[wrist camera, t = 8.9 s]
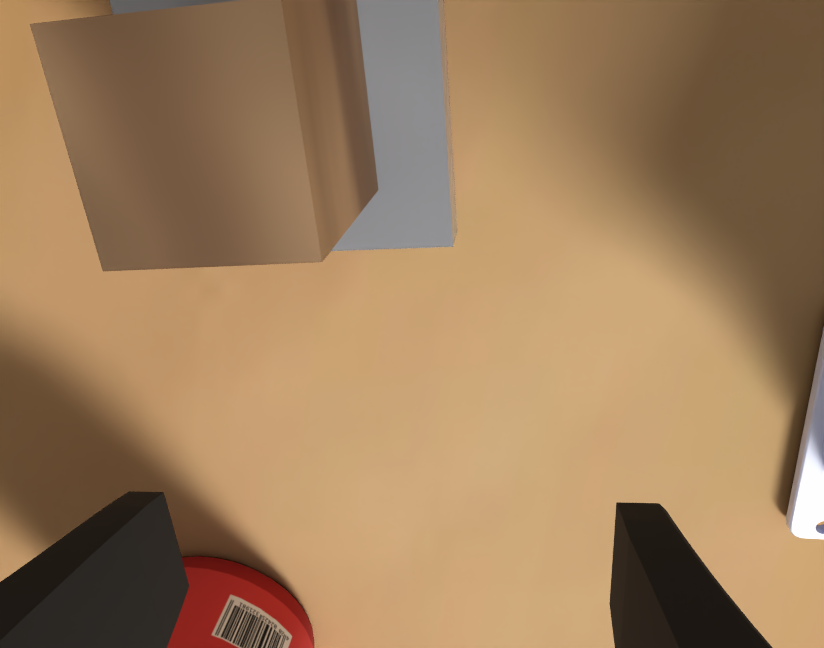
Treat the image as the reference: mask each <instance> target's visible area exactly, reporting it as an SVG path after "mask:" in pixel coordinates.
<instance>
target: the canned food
mask: <svg viewBox="0 0 824 648" xmlns="http://www.w3.org/2000/svg"><path fill="white" fill-rule="evenodd" d="M182 561H183V564H184V568H185V572H186V575H187V579H188V582H189V589H188V591H187V594H186V597H185V600H184V603H183V606H182V609H181V612H180V614H179V617H178V620H177V623H176V625H175V628H174V630H173V633H172V636H171V638H170V641H169V643H168V646H167V648H314V637H313V630H312V627H311V624H310V622H309V619H308V617H307V615H306V613H305V612H304V610H303V609H302V607H301V606H300V604H299V603H298V602H297V601H296V600H295V599H294V598H293V597H292V595H291V594H290V593H289V592H288V591H287V590H286V589H284V588H283V587H282V586H280V585H279V584H278V583H276V582H275V581H274V580H272V579H271V578H269V577H267V576H265V575H263V574H262V573H260V572H258V571H256V570H254V569H252V568H249V567H247V566H244V565H241V564H239V563H236V562H232V561H228V560H224V559H219V558H212V557H201V556H196V557H182Z"/></svg>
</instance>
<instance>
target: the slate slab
mask: <svg viewBox="0 0 824 648" xmlns="http://www.w3.org/2000/svg"><path fill="white" fill-rule="evenodd" d="M229 1H238V0H110V4H111V8H112V13H113V15H114V14H123V13H132V12H141V11H149V10H158V9H167V8H176V7H185V6H194V5H203V4H212V3H221V2H229ZM356 1H357V9H358V18H359V26H360V35H361V44H362V52H363V61H364V70H365V78H366V87H367V95H368V104H369V113H370V121H371V130H372V139H373V147H374V156H375V164H376V173H377V182H378V191H377V193H376V194H375V195H374V196H373V198H372V199H371V200H370V201H369V203H368V204H367V205H366V207H365V208H364V209H363V210H362V212H361V213H360V214H359V216H358V217H357V218H356V219H355V221H354V222H353V223H352V224H351V226H350V227H349V228H348V230H347V231H346V232H345V233H344V235H343V236H342V237H341V239H340V240H339V241H338V242H337V244H336V245H335V246H334V248H333V249H332V250H331V251H345V250H373V249H401V248H429V247H453V245H454V242H455V238H456V234H457V216H456V198H455V181H454V164H453V147H452V130H451V113H450V96H449V79H448V62H447V45H446V27H445V10H444V0H356Z"/></svg>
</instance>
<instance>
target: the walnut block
mask: <svg viewBox="0 0 824 648" xmlns="http://www.w3.org/2000/svg"><path fill="white" fill-rule="evenodd" d="M30 26H31V30H32V33H33V36H34V40H35V43H36V47H37V50H38V53H39V57H40V60H41V64H42V67H43V70H44V74H45V77H46V80H47V84H48V87H49V91H50V94H51V97H52V101H53V104H54V107H55V111H56V114H57V118H58V121H59V124H60V128H61V131H62V134H63V138H64V141H65V145H66V148H67V151H68V155H69V158H70V162H71V165H72V168H73V172H74V175H75V178H76V182H77V185H78V189H79V192H80V195H81V199H82V202H83V205H84V209H85V212H86V216H87V219H88V222H89V226H90V229H91V232H92V236H93V239H94V243H95V246H96V249H97V253H98V256H99V260H100V263H101V266H102V270H103V271H122V270H146V269H170V268H194V267H218V266H242V265H266V264H290V263H314V262H323V260H324V259H325V258H326V256H327V255H328V254H329V253H330V251H331V250H332V249H333V248H334V246H335V245H336V244H337V242H338V241H339V240H340V239H341V237H342V236H343V235H344V233H345V232H346V231H347V230H348V228H349V227H350V226H351V224H352V223H353V222H354V221H355V219H356V218H357V217H358V216H359V214H360V213H361V212H362V210H363V209H364V208H365V207H366V205H367V204H368V203H369V201H370V200H371V199H372V198H373V196H374V195H375V194H376V193H377V191H378V182H377V173H376V164H375V156H374V147H373V139H372V130H371V121H370V113H369V104H368V95H367V87H366V78H365V70H364V61H363V52H362V44H361V35H360V26H359V18H358V9H357V1H356V0H238V1H229V2H221V3H212V4H203V5H194V6H185V7H176V8H167V9H158V10H149V11H141V12H132V13H123V14H114V15H105V16H96V17H87V18H78V19H70V20H61V21H52V22H43V23H34V24H30Z"/></svg>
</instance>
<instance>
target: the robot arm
mask: <svg viewBox="0 0 824 648" xmlns="http://www.w3.org/2000/svg"><path fill="white" fill-rule="evenodd" d="M821 521H824V328H823V333H822V338H821V343H820V348H819V353H818V358H817V363H816V369H815V374H814V379H813V384H812V389H811V394H810V399H809V404H808V409H807V414H806V419H805V424H804V429H803V434H802V440H801V445H800V450H799V455H798V460H797V465H796V470H795V475H794V480H793V485H792V490H791V495H790V500H789V506H788V511H787V516H786V524H787V526H788V528H789V530H790V531H791V533H792V534H793V535H795V536H797V537H800V538H810V539H824V524H823V525H817V524H818V523H819V522H821ZM188 589H189V582H188V579H187V575H186V572H185V568H184V564H183V561H182V557H181V554H180V550H179V546H178V543H177V539H176V535H175V532H174V528H173V525H172V521H171V517H170V514H169V510H168V506H167V503H166V499H165V496H164V492H128V493H126V494H125V495H123V496H121V497H120V498H118V499H117V500H115V501H114V502H112V503H111V504H109V505H108V506H106V507H105V508H103V509H102V510H101V511H99V512H98V513H96V514H95V515H94V516H92V517H91V518H89V519H88V520H86V521H85V522H84V523H82V524H81V525H80V526H78V527H77V528H75V529H74V530H73V531H71V532H70V533H68V534H67V535H66V536H64V537H63V538H62V539H60V540H59V541H57V542H56V543H55V544H53V545H52V546H50V547H49V548H48V549H46V550H45V551H43V552H42V553H41V554H39V555H38V556H37V557H35V558H34V559H32V560H31V561H30V562H28V563H27V564H25V565H24V566H23V567H21V568H20V569H18V570H17V571H16V572H14V573H13V574H11V575H10V576H9V577H7V578H6V579H4V580H3V581H1V582H0V648H167V646H168V643H169V641H170V638H171V636H172V633H173V630H174V628H175V625H176V623H177V620H178V617H179V614H180V612H181V609H182V606H183V603H184V600H185V597H186V594H187V591H188ZM610 610H611V618H612V627H613V635H614V643H615V648H772V647H771V645H770V644H769V643H768V642H767V641H766V640H765V639H764V637H763V636H762V635H761V634H760V633H759V632H758V630H757V629H756V628H755V627H754V626H753V624H752V623H751V622H750V621H749V620H748V618H747V617H746V616H745V615H744V614H743V612H742V611H741V610H740V609H739V607H738V606H737V605H736V604H735V603H734V601H733V600H732V599H731V598H730V596H729V595H728V594H727V593H726V592H725V590H724V589H723V588H722V586H721V585H720V584H719V583H718V581H717V580H716V579H715V578H714V576H713V575H712V574H711V572H710V571H709V570H708V568H707V567H706V566H705V564H704V563H703V562H702V560H701V559H700V558H699V556H698V555H697V554H696V552H695V551H694V550H693V548H692V547H691V545H690V544H689V543H688V541H687V540H686V538H685V537H684V536H683V534H682V533H681V531H680V530H679V529H678V527H677V526H676V524H675V523H674V521H673V520H672V518H671V517H670V515H669V514H668V512H667V511H666V510H665V509H664V508H663V507H662V506H661V505H660V504H656V503H617V504H616V519H615V534H614V548H613V563H612V578H611V593H610Z"/></svg>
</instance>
